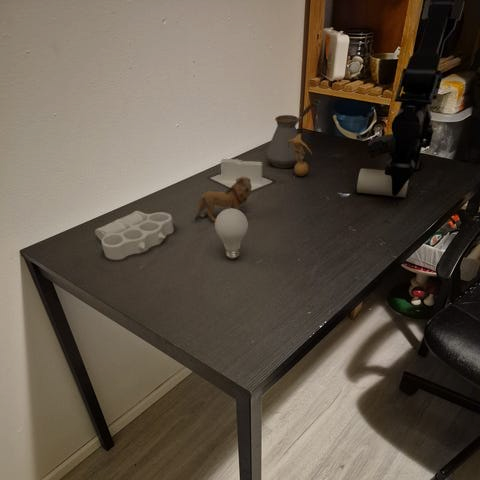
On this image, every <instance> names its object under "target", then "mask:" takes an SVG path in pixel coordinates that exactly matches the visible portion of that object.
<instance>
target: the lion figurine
mask: <svg viewBox="0 0 480 480" xmlns="http://www.w3.org/2000/svg"><path fill="white" fill-rule="evenodd" d="M251 187H252V186H251V183H250V179H248V178H247V177H244V176H243V177H240V178H238V179H236V183H235V184H234V185H232V187H231V188H230V187H228V189H227V190H225V191H214V190H209V191H206V192H204V193H203V194H202V195H201V197H200V198H199V201H198V210H197V214H196V216H195V218H194V221H198V220H199V219H200V218H204V217H205V216H206V214H205V213H203V212H204V210H206V209H207V210H208V213H207V215H208V217H209V218H210V220H211V221H212V222H215V221H216V218H217V217H214V215H213V213H214V210H215V205H216V206H218V207H220V208H227V207H230V208H233V209H237V210H239V211H241V210H240V209H241V205H242V204H245V203H246V202H247V201H248V198H249V196H251V192H252V191H251Z"/></svg>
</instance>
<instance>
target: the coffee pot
mask: <svg viewBox="0 0 480 480" xmlns="http://www.w3.org/2000/svg"><path fill="white" fill-rule="evenodd" d="M317 101H318V103H319V104H317ZM320 103H321V101H320V100H319V99H318V98H315V99H313V100H312V101H311V102H310V104H309V105H308V106H306V108H305V109H304V110H303V111H302V113H301V114H300V115H299V117H297V116H295V115H292V114H282V115H278V116H276V117H275V119H274V120H275V122H276V125H277V126H276V129H275V131H274V132H273V136H272V138H271V141H270V142H269V145H268V147H267V150H266V152H265V157H266V158H267V160H268V162H269V163H271V165H272V166H274V167H276V168H279V169H290V168H294V167H295V165H296V164H297V163H298V161H297V158H296V156H297V155H298V154H297V153H296V152H295V150H294V148H295V146H294V144H293V142H289V146H290V147H288V148H289V149H287V144H288V140H291V139H293V138H295V137H297V135H298V134H299V133H298V129H297V127H296V125H297V124H298V123H299V122H300V121H301V119H303V118H304V117H305V116H306V115H307V114H308V113H309V112H310V111H311V109H312V108H313V107H314V106H315V105H316V106H320ZM301 149H303V151H304V146H303V145H302V144H301ZM304 152H305V151H304ZM302 156H303V155H302V154H301V153H299V157H298V159H299V161H301V157H302Z"/></svg>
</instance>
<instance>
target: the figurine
mask: <svg viewBox="0 0 480 480" xmlns="http://www.w3.org/2000/svg"><path fill="white" fill-rule="evenodd" d="M289 142H293V144H294V146H295V148H294V150H295V152H296V153H297V154H298V155H297V156H296V158H297V161H298V163H297V164H296V165H295V166H294V167H293V168H294V169H293V170H294V173H295V175H297V176H298V177H304V176H306V175H307V174H308V172H309V165H308V163H307V162H306V161H303V160H304V157H305V155H306V152H305V151H303V150H304V148H303V149H301V144H302V147H305V148H306V149H307V151H308V152H309V153H310V155H311V156H313V152H312V151H311V149H310V148H309V147H308V145H307V144H306V143H305V142H304V141H303V140H302V134H301V133H298V135H297V137H295V138H293V139H291V140H288V144H287V149H289V148H288V147H290V146H289ZM299 153H301V154H302V155H303V156H302V157H301V161H299V159H298V157H299Z"/></svg>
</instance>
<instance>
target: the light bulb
mask: <svg viewBox="0 0 480 480" xmlns="http://www.w3.org/2000/svg"><path fill="white" fill-rule="evenodd" d="M215 218H216V221H214V229H215V232H216V234H217V236H218V237H219V238H220V240H221V241H222V243H223V246H224V249H225V255H226V257H227V258H228V259H231V260H232V259H237V258H239V257H240V255H241V250H240V248H241V243H242V241H243V239H244V237H245V236H246V234H247V232H248V229H249V228H248V227H249V222H248V219H247V217H246V215H245V214H244V213H243V211H241V210H237V209H233V208H231V207H230V208H225V209H223V210H222V211H220V212H219V213H218V214H217V216H216V217H215Z"/></svg>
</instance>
